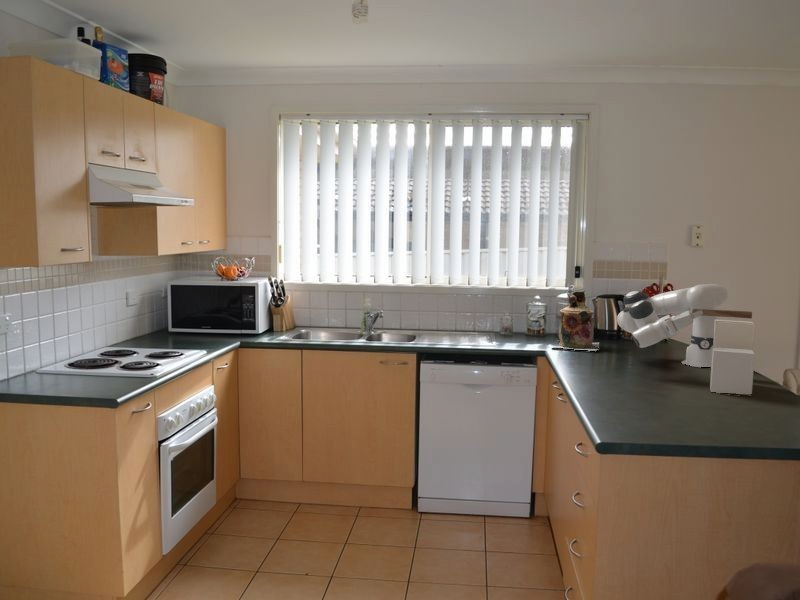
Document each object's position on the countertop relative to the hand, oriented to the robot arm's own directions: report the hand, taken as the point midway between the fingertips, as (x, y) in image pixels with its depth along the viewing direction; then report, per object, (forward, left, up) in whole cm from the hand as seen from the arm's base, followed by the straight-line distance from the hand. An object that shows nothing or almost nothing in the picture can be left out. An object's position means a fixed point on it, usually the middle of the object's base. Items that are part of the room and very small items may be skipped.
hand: (702, 311), depth 271 cm
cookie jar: (-63, -59, -30) cm, 91 cm away
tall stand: (0, +12, -30) cm, 32 cm away
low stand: (+16, +11, -30) cm, 36 cm away
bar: (0, +7, -2) cm, 7 cm away
